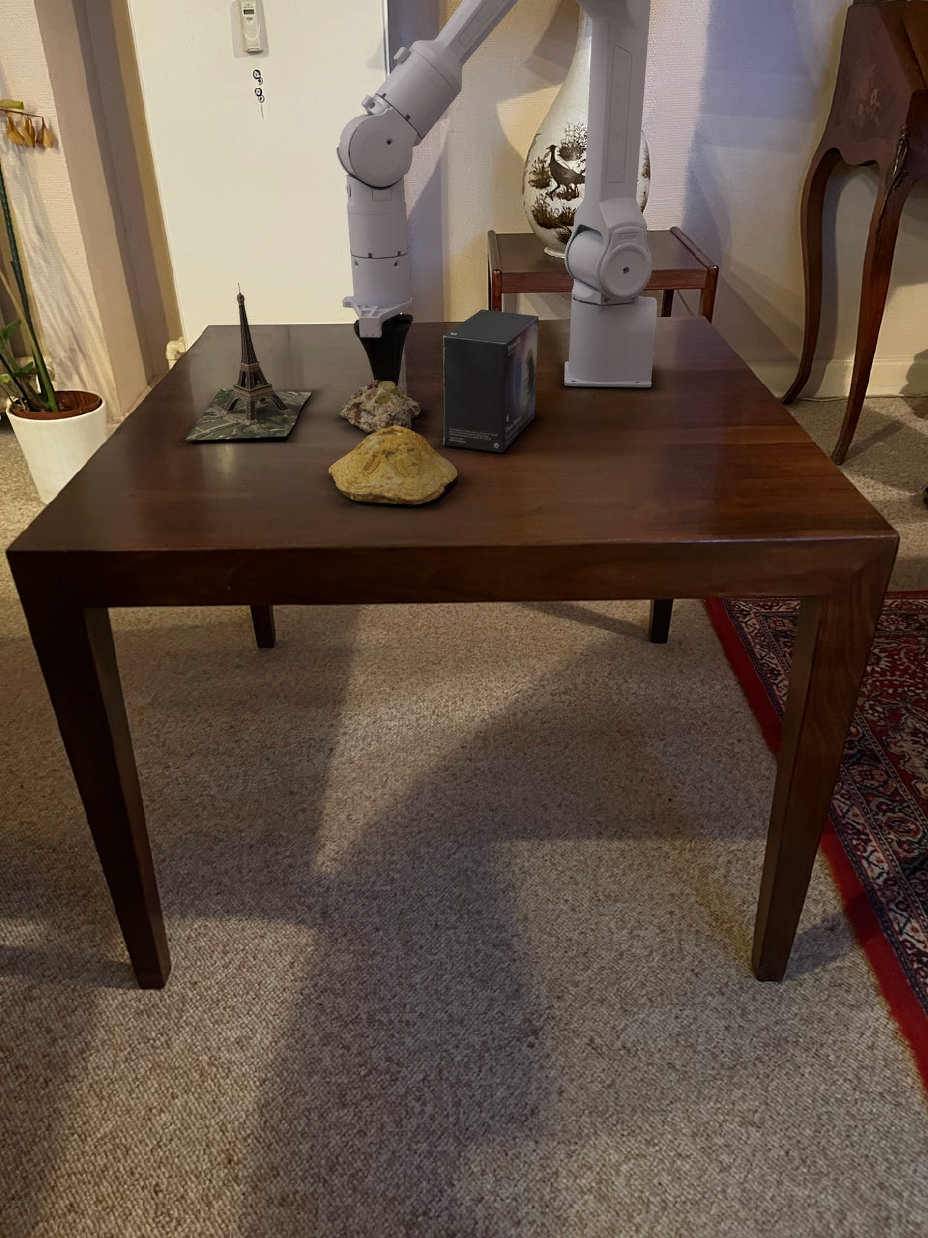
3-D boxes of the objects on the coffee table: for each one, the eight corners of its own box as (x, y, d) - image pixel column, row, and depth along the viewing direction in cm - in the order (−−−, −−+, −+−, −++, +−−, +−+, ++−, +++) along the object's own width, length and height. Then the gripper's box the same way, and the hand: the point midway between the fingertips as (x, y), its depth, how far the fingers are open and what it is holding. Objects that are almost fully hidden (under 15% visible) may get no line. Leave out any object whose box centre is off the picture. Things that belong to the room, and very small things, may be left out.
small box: (506, 455, 86) (508, 341, 81) (441, 447, 88) (438, 335, 82) (538, 417, 95) (542, 312, 89) (478, 411, 96) (478, 307, 91)
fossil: (311, 429, 75) (363, 393, 83) (302, 493, 78) (352, 452, 87) (436, 477, 73) (476, 435, 82) (421, 540, 77) (461, 494, 85)
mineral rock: (329, 386, 97) (400, 358, 97) (343, 423, 99) (413, 396, 100) (344, 424, 88) (423, 394, 88) (360, 464, 91) (436, 434, 91)
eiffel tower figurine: (220, 393, 102) (199, 266, 95) (311, 392, 102) (298, 264, 95) (185, 444, 90) (159, 301, 83) (290, 442, 90) (273, 300, 83)
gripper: (354, 239, 98) (363, 366, 105) (323, 268, 86) (335, 409, 93) (420, 239, 97) (425, 367, 105) (398, 268, 85) (405, 411, 92)
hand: (387, 387), depth 99 cm, fingers closed
